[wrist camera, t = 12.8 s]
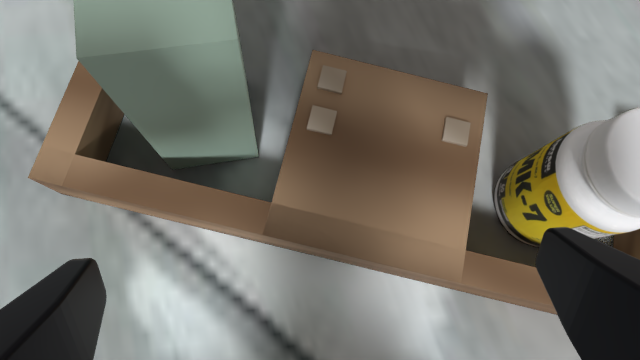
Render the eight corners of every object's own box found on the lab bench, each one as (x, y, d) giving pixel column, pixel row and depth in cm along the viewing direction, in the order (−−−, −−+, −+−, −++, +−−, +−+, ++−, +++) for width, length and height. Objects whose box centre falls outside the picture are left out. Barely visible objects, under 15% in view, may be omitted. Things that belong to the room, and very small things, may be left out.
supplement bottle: (490, 158, 25) (591, 88, 16) (572, 166, 25) (711, 101, 17) (492, 245, 23) (603, 215, 15) (579, 252, 24) (733, 227, 15)
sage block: (258, 156, 24) (238, 39, 13) (172, 169, 23) (76, 58, 12) (246, 80, 25) (218, -85, 14) (163, 91, 24) (69, -73, 14)
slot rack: (637, 334, 23) (693, 339, 20) (61, 193, 22) (25, 176, 19) (643, 161, 25) (693, 142, 22) (126, 33, 25) (104, -5, 22)
